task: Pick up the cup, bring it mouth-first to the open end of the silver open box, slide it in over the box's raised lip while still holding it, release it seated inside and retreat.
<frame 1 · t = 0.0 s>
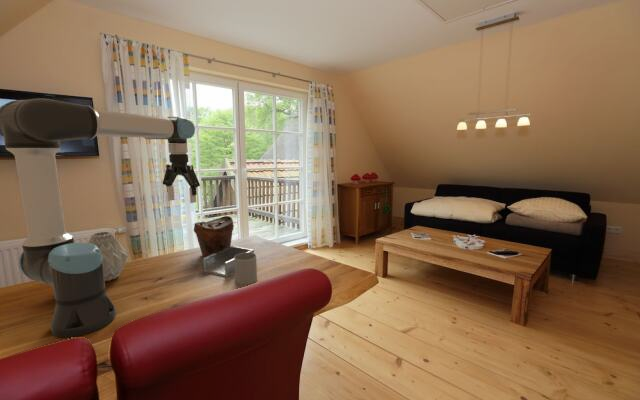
hand: (182, 201, 135), 28 cm above the table, fingers open, 13 cm apart
cup: (246, 280, 119), on the table
silver open box: (230, 266, 132), on the table
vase: (107, 278, 121), on the table
case: (215, 254, 149), on the table
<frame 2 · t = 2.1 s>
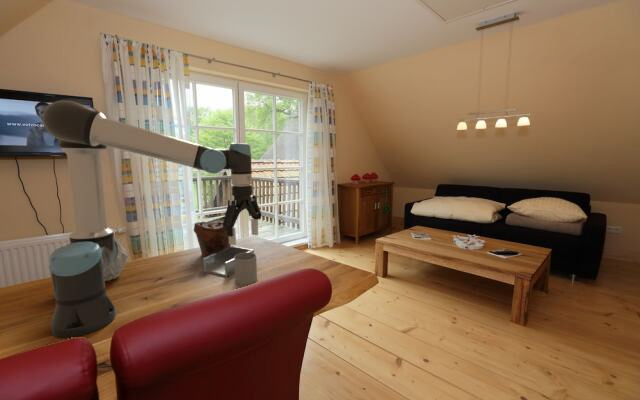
hand: (244, 239, 116), 17 cm above the table, fingers open, 13 cm apart
nothing on the table moved.
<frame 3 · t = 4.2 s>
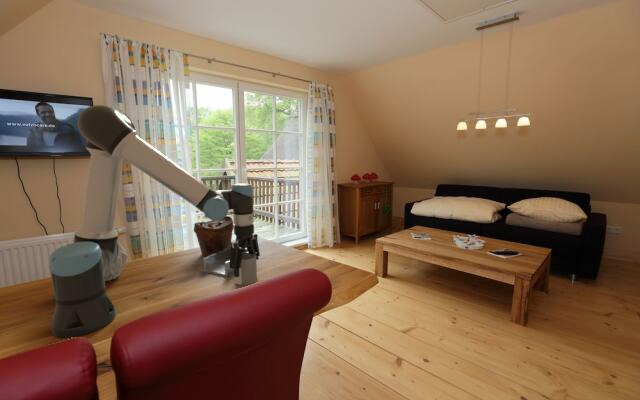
hand: (246, 279, 119), 0 cm above the table, fingers closed on cup, 8 cm apart
cup: (246, 280, 119), on the table, touching gripper
everything else where it was.
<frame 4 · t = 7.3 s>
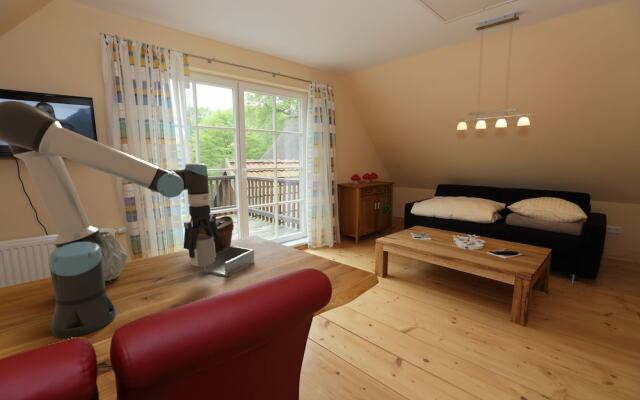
hand: (203, 260, 118), 8 cm above the table, fingers closed on cup, 8 cm apart
cup: (204, 262, 118), point 7 cm above the table, touching gripper
everything else where it was.
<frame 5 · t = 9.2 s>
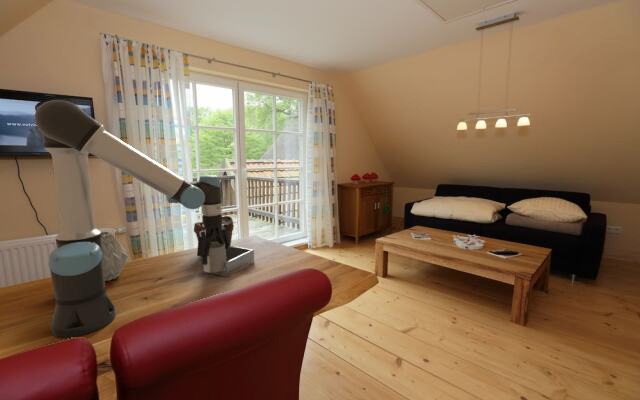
hand: (215, 267, 124), 3 cm above the table, fingers closed on cup, 8 cm apart
cup: (215, 268, 124), point 2 cm above the table, touching gripper
everything else where it was.
when the fingers open (3 cm above the table, at t = 10.8 s): cup drops 1 cm, resting on silver open box.
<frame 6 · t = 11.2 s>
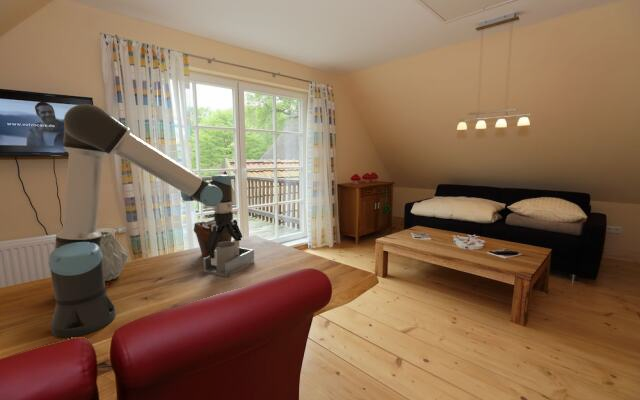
hand: (225, 259, 129), 4 cm above the table, fingers open, 13 cm apart
cup: (226, 267, 130), point 1 cm above the table, touching silver open box
everything else where it was.
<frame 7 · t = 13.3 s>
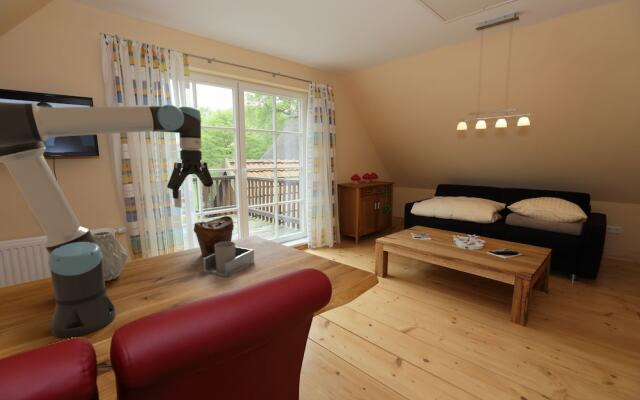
hand: (192, 204, 117), 30 cm above the table, fingers open, 13 cm apart
nothing on the table moved.
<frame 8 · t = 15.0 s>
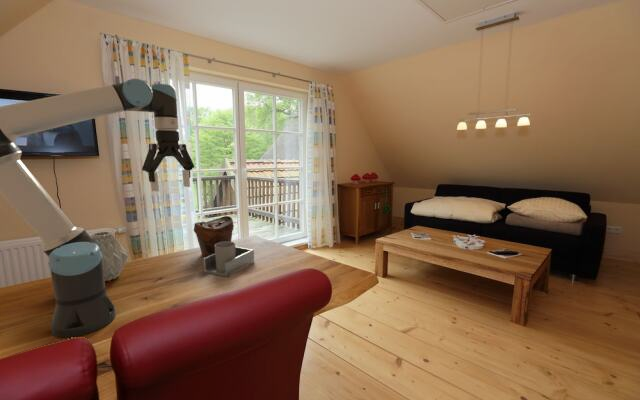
hand: (171, 188, 111), 37 cm above the table, fingers open, 13 cm apart
nothing on the table moved.
at the end: cup inside the target area on the silver open box (2.8 cm from its centre), point 0.8 cm above the silver open box's base; cup tilted 0°; the gripper is holding nothing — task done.
